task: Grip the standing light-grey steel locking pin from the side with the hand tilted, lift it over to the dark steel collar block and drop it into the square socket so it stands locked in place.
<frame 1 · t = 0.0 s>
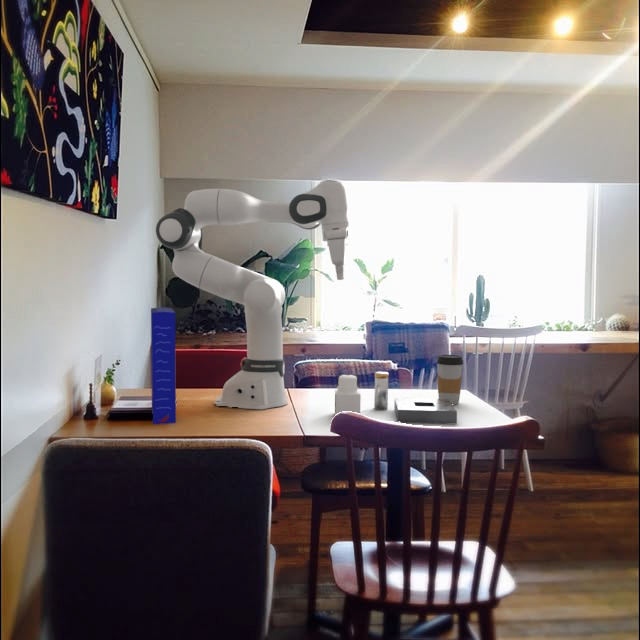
hand: (340, 279, 186), 39 cm above the table, tool pointing down, fingers open, 8 cm apart
medicine bottle: (347, 416, 174), on the table
cereal box: (163, 415, 173), on the table
coffee cup: (448, 403, 194), on the table
collar block: (424, 416, 175), on the table
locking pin: (380, 408, 185), on the table
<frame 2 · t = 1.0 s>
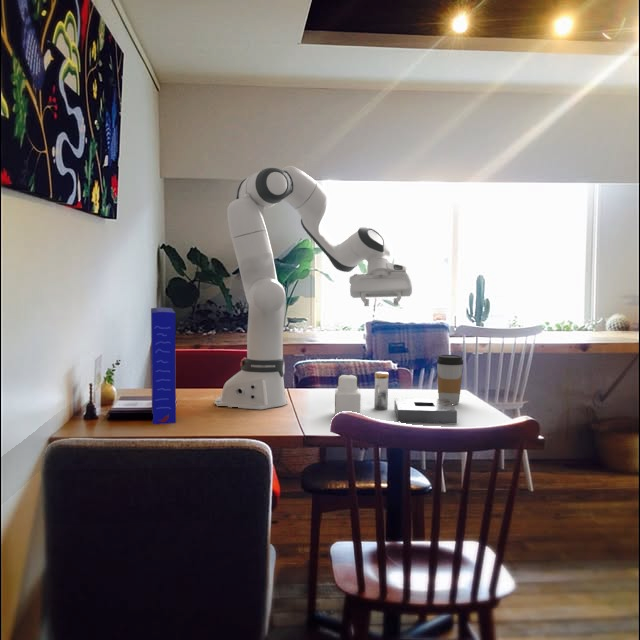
hand: (381, 304, 196), 31 cm above the table, tool tilted 45°, fingers open, 8 cm apart
nothing on the table moved.
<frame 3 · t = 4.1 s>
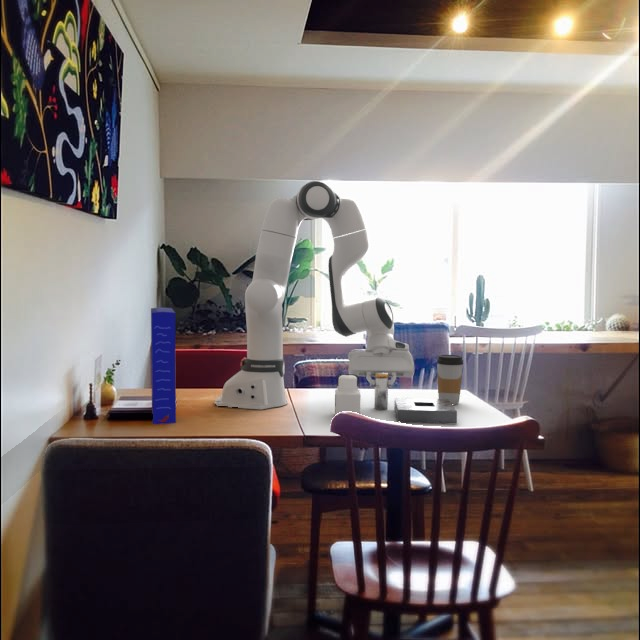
hand: (381, 386, 183), 7 cm above the table, tool tilted 45°, fingers closed on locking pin, 4 cm apart
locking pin: (380, 408, 185), on the table, touching gripper
everything else where it was.
when the fingers open (8 cm above the table, at t = 8.8 s): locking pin drops 1 cm, resting in collar block.
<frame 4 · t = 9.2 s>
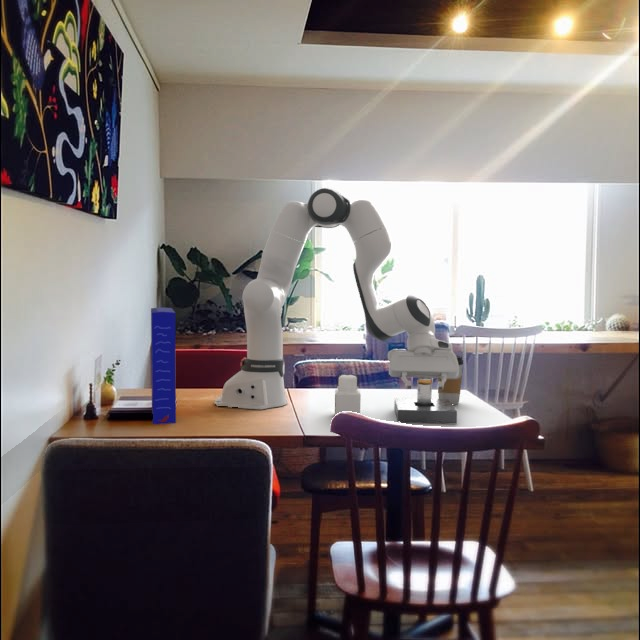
hand: (424, 388, 174), 8 cm above the table, tool tilted 45°, fingers open, 8 cm apart
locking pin: (423, 416, 175), resting in collar block
everything else where it was.
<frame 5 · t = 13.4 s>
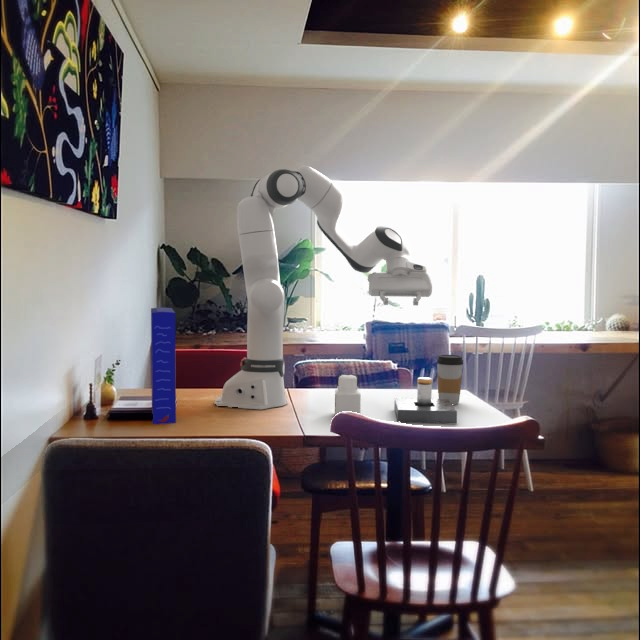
hand: (400, 304, 192), 31 cm above the table, tool tilted 45°, fingers open, 8 cm apart
nothing on the table moved.
at the end: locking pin 0.0 cm off-centre on the collar block, point 0.0 cm above the collar block's base; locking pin tilted 0°; the gripper is holding nothing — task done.
